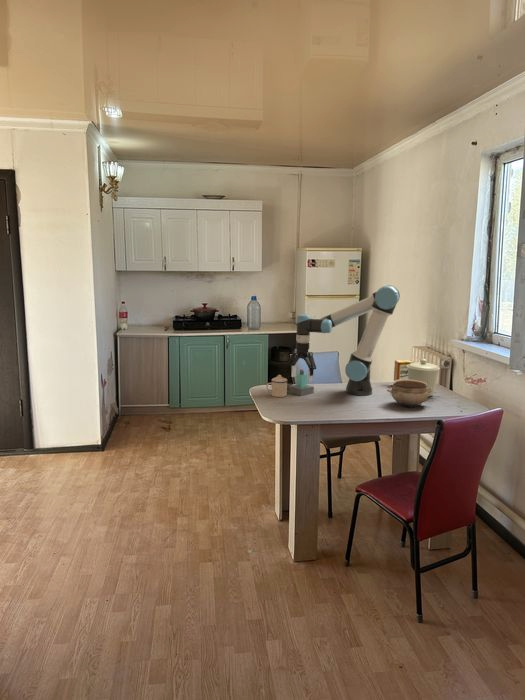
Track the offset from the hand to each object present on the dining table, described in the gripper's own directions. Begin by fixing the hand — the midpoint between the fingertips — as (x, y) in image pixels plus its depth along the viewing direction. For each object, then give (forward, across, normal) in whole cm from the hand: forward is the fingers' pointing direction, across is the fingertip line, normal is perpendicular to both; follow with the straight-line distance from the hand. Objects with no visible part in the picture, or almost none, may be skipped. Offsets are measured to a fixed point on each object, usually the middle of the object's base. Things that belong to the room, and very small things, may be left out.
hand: (301, 379), depth 296 cm
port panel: (+8, 0, 0) cm, 8 cm away
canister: (+8, +44, +53) cm, 69 cm away
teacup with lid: (+8, -4, -15) cm, 18 cm away
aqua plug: (+8, 0, 0) cm, 8 cm away
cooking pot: (+8, +53, +28) cm, 61 cm away
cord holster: (+8, -10, 0) cm, 13 cm away
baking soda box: (+8, +25, +62) cm, 67 cm away
